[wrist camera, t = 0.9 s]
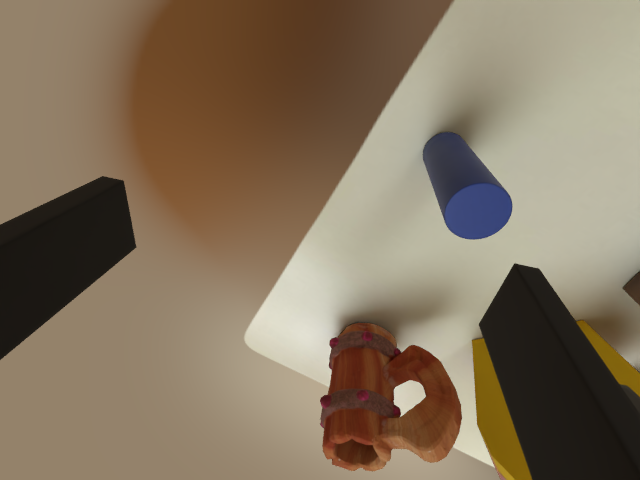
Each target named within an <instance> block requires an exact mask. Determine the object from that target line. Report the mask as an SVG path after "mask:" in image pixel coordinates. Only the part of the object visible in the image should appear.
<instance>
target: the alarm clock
mask: <svg viewBox="0 0 640 480" xmlns="http://www.w3.org/2000/svg"><path fill="white" fill-rule="evenodd" d="M576 323H577V324H578V325H579V327H580V328H581V330H582V331H583V333H584V334H585V335H586V337H587V338H588V340H589V341H590V343H591V344H592V346H593V347H594V348H595V350H596V351H597V353H598V354H599V356H600V357H601V358H602V360H603V361H604V363H605V364H606V366H607V367H608V369H609V370H610V371H611V373H612V374H613V376H614V377H615V379H616V380H617V382H618V383H619V384H622V385H626V386H628V387H630V388H631V389H632V390H633V391H634V392H635V393H636V394H637V395H638V396H639V397H640V373H639V372H638V371H637V370H636V369H635V368H633V367H632V366H631V365H630V364H629V363H628V362H627V361H626V360H625V359H624V358H623V357H622V356H621V355H620V354H619V353H618V352H616V351H615V350H614V349H613V348H612V347H611V346H610V345H609V344H608V343H607V342H606V341H605V340H604V339H603V338H602V337H601V336H599V335H598V334H597V333H596V332H595V331H594V330H593V329H592V328H591V327H590V326H589V325H588V324H587V323H586V322H585V321H584V320H580V321H576ZM472 346H473V363H474V379H475V396H476V412H477V425H478V427H479V430H480V432H481V435H482V437H483V439H484V442H485V444H486V447H487V449H488V452H489V454H490V456H491V459H492V461H493V464H494V466H495V468H496V470H497V473H498V475H499V477H500V479H501V480H532V478H531V475H530V472H529V469H528V466H527V463H526V460H525V457H524V454H523V451H522V448H521V446H520V443H519V440H518V437H517V434H516V431H515V428H514V425H513V422H512V419H511V416H510V414H509V411H508V408H507V405H506V402H505V399H504V396H503V393H502V390H501V387H500V384H499V381H498V379H497V376H496V373H495V370H494V367H493V364H492V361H491V358H490V355H489V352H488V349H487V347H486V344H485V341H484V338H482V339H476V340H472Z"/></svg>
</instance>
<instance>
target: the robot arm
mask: <svg viewBox="0 0 640 480" xmlns="http://www.w3.org/2000/svg"><path fill="white" fill-rule="evenodd" d="M135 248H136V244H135V238H134V233H133V229H132V222H131V217H130V212H129V207H128V201H127V196H126V190H125V185H124V181H123V180H118V179H113V178H108V177H104V176H102V177H100V178H98V179H96V180H94V181H92V182H90V183H87V184H85V185H83V186H81V187H79V188H77V189H75V190H73V191H70V192H68V193H66V194H64V195H62V196H60V197H58V198H56V199H54V200H51V201H49V202H47V203H45V204H43V205H41V206H39V207H37V208H35V209H33V210H30V211H28V212H26V213H24V214H22V215H20V216H18V217H16V218H14V219H11V220H9V221H7V222H5V223H3V224H1V225H0V360H1V359H2V358H3V357H4V356H6V355H7V354H8V353H9V352H10V351H11V350H13V349H14V348H15V347H16V346H18V345H19V344H20V343H21V342H22V341H24V340H25V339H26V338H27V337H28V336H30V335H31V334H32V333H33V332H35V330H37V329H38V328H39V327H41V326H42V325H43V324H44V323H45V322H47V321H48V320H49V319H50V318H51V317H53V316H54V315H55V314H56V313H57V312H59V311H60V310H61V309H62V308H63V307H65V306H66V305H67V304H68V303H69V302H71V301H72V300H73V299H74V298H76V297H77V296H78V295H79V294H80V293H81V292H83V291H84V290H85V289H86V288H88V287H89V286H90V285H91V284H93V283H94V282H95V281H96V280H97V279H98V278H100V277H101V276H102V275H103V274H105V273H106V272H107V271H108V270H109V269H111V268H112V267H113V266H114V265H115V264H117V263H118V262H119V261H120V260H122V259H123V258H124V257H125V256H126V255H128V254H129V253H130V252H131V251H132V250H134V249H135ZM479 326H480V329H481V332H482V335H483V338H484V341H485V344H486V347H487V349H488V352H489V355H490V358H491V361H492V364H493V367H494V370H495V373H496V376H497V379H498V381H499V384H500V387H501V390H502V393H503V396H504V399H505V402H506V405H507V408H508V411H509V414H510V416H511V419H512V422H513V425H514V428H515V431H516V434H517V437H518V440H519V443H520V446H521V448H522V451H523V454H524V457H525V460H526V463H527V466H528V469H529V472H530V475H531V478H532V480H640V397H639V396H638V395H637V394H636V393H635V392H634V391H633V390H632V389H631V388H630V387H628V386H626V385H622V384H619V383H618V382H617V380H616V379H615V377H614V376H613V374H612V373H611V371H610V370H609V369H608V367H607V366H606V364H605V363H604V361H603V360H602V358H601V357H600V356H599V354H598V353H597V351H596V350H595V348H594V347H593V346H592V344H591V343H590V341H589V340H588V338H587V337H586V335H585V334H584V333H583V331H582V330H581V328H580V327H579V325H578V324H577V323H576V321H575V320H574V318H573V317H572V315H571V314H570V312H569V311H568V310H567V308H566V307H565V305H564V304H563V302H562V301H561V300H560V298H559V297H558V295H557V294H556V292H555V291H554V289H553V288H552V287H551V285H550V284H549V282H548V281H547V279H546V278H545V277H544V275H543V274H542V272H541V271H540V269H538V268H533V267H528V266H524V265H519V264H514V265H513V267H512V269H511V270H510V272H509V274H508V275H507V277H506V279H505V280H504V282H503V284H502V286H501V287H500V289H499V291H498V292H497V294H496V296H495V298H494V299H493V301H492V303H491V304H490V306H489V308H488V310H487V311H486V313H485V315H484V316H483V318H482V320H481V322H480V323H479Z"/></svg>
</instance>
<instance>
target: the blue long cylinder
mask: <svg viewBox="0 0 640 480" xmlns="http://www.w3.org/2000/svg"><path fill="white" fill-rule="evenodd" d="M423 160H424V163H425V166H426V169H427V172H428V175H429V177H430V180H431V183H432V186H433V189H434V192H435V195H436V197H437V200H438V203H439V206H440V209H441V212H442V215H443V217H444V220H445V223H446V225H447V227H448V228H449V230H450V231H451V232H452V233H454V234H455V235H457V236H459V237H462V238H465V239H482V238H485V237H488V236H491V235H493V234H495V233H496V232H498V231H499V230H500V229H502V228H503V227H504V226H505V224H506V223H507V222H508V220H509V218H510V216H511V212H512V201H511V198H510V196H509V194H508V193H507V191H506V190H505V189H504V188H503V187H502V185H501V184H500V183H499V182H498V181H497V179H496V178H495V177H494V176H493V175H492V173H491V172H490V171H489V170H488V169H487V167H486V166H485V165H484V164H483V163H482V161H481V160H480V159H479V158H478V157H477V156H476V154H475V153H474V152H473V151H472V150H471V148H470V147H469V146H468V145H467V144H466V142H465V141H464V140H463V139H462V138H461V137H460V136H459V135H457V134H455V133H452V132H443V133H440V134H437V135H435V136H434V137H432V138H431V139H430V140H429V141H428V142H427V144H426V145H425V147H424V150H423Z"/></svg>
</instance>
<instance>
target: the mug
mask: <svg viewBox="0 0 640 480" xmlns="http://www.w3.org/2000/svg"><path fill="white" fill-rule="evenodd" d="M396 345H397V344H396V340H395V338H394V337H393V336H392V334H391V333H389V332H388V331H387V330H385V329H384V328H382V327H380V326H378V325H375V324H371V323H355V324H352V325H350V326H348V327H346V328H345V330H344V331H343V332H342V333H341V334H340V335H339V336H338V338H336V337H335V338H332V339H331V340H330V347H331V348H332V349H331V354H330V362H329V368H330V369H332V374H331V381H330V387H329V391H328V395H324V396H323V397H322V398H321V400H320V402H321V405H322V413H321V424H320V425H321V426H322V427H323V428H324V436H323V452H324V454H325V456H326V458H327V459H332V464H333V465H336V466H339V467H342V468H345V469H348V470H351V471H355V470H357V469H358V468H363V469H365V470H368V471H376V470H379V469H382V468H383V467H384V466H385V465H386V462H387V461H389V460H390V459H391V450H392V449H408V450H410V451H412V452H413V453H415V454H416V455H418V456H419V457H420V458H422V459H423V460H424V461H427V462H430V463H431V462H438V461H440V460H442V459H443V458H445V457H446V456H447V454H448V453H449V451H450V449H451V448H452V447H453V445H454V443H455V441H456V438H457V436H458V434H459V430H460V425H461V420H462V415H461V404H460V401H459V399H458V395H457V392H456V389H455V387H454V385H453V383H452V381H451V380H450V378H449V376H448V374H447V372H446V370H445V369H444V367H443V365H442V363H441V362H440V361H439V360H438V359H437V358H436V357H434V356H433V355H432V354H431V353H430V352H428V351H426V350H424V349H423V348H421V347H419V346H415V345H411V346H409V347H408V348H407V349H406V350H404V351H403V352H402V353H401V351H400V350H399V349H398V348H396ZM409 380H413V381H417V382H420V383H421V384H422V385H423V387H424V390H425V394H426V398H424V399H423V400H422V401H421V402H420V403H419V404H417V405H416V406H415V407H414V408H413V409H411V410H409V411H408V412H407V413H406V414H404V415H403V416H402V417H400V415H401V412H400V409H399V407H397V406H395V405H394V402H393V400H394V388H395V387H396V386H398V385H400V384H402V383H404V382H406V381H409ZM399 417H400V418H399Z"/></svg>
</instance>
